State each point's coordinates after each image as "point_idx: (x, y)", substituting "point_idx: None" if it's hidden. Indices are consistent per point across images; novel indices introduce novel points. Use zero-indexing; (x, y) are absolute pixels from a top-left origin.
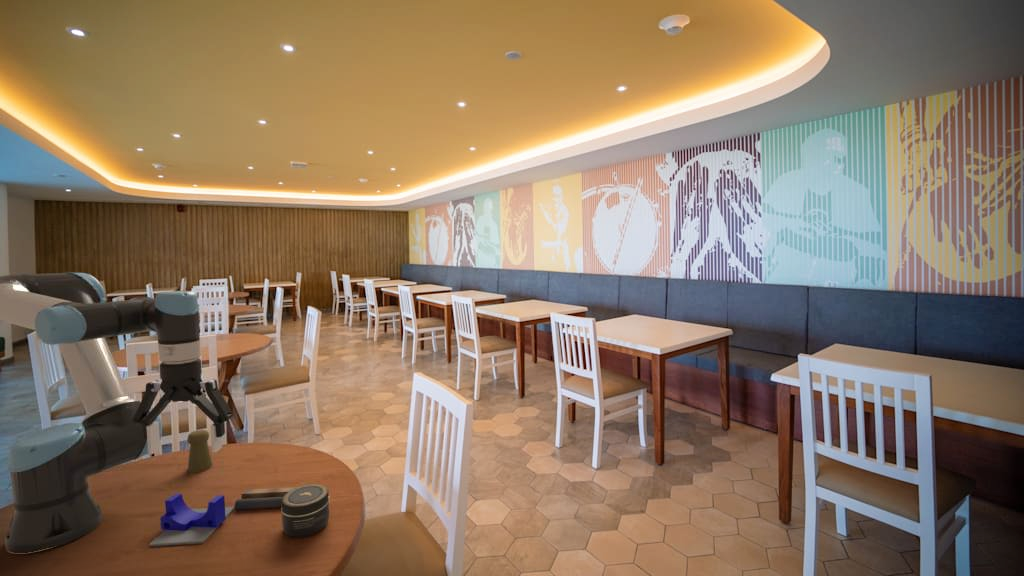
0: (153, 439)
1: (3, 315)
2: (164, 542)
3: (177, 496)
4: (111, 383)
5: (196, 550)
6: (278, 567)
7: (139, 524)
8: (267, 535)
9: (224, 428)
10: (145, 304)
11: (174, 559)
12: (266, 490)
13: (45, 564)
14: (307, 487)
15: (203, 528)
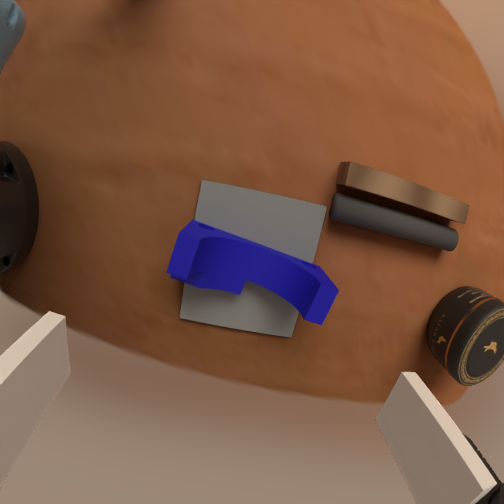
0: (32, 408)
1: None
2: (210, 321)
3: (193, 254)
4: None
5: (284, 353)
6: None
7: (112, 214)
8: (400, 335)
9: (481, 457)
10: None
11: (253, 368)
12: (404, 190)
13: (38, 308)
14: (499, 322)
15: None
